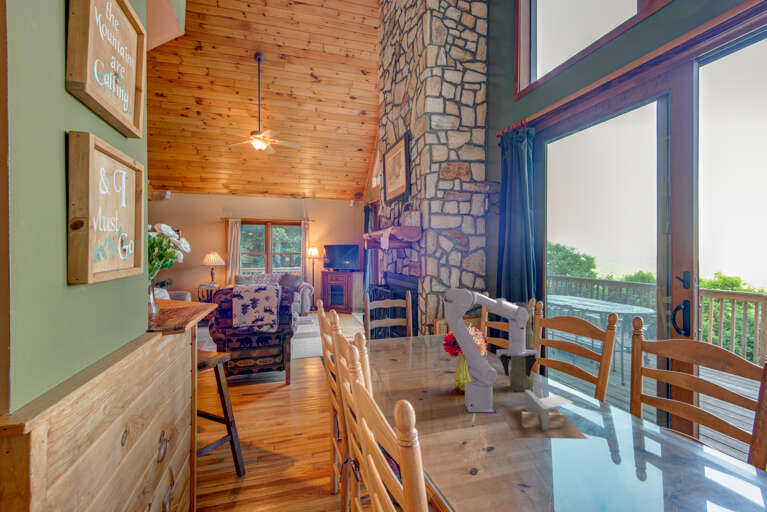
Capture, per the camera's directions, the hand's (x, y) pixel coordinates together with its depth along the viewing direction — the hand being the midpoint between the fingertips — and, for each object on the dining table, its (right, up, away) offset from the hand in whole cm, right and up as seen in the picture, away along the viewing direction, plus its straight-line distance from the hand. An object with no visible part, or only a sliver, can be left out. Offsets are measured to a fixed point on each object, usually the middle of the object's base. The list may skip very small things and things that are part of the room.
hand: (517, 375), depth 128 cm
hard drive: (+13, -11, -1) cm, 17 cm away
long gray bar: (0, -9, -15) cm, 17 cm away
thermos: (+7, -10, +13) cm, 18 cm away
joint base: (0, -10, -17) cm, 20 cm away
